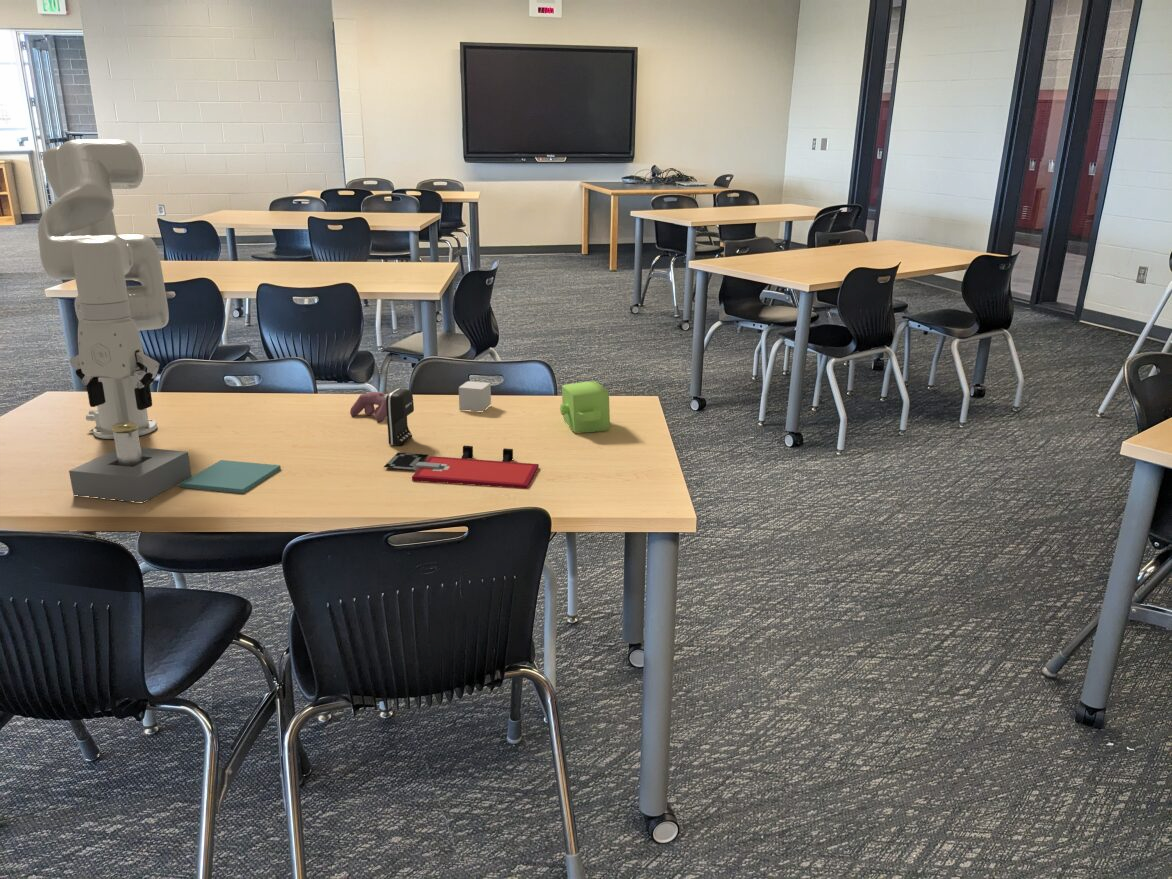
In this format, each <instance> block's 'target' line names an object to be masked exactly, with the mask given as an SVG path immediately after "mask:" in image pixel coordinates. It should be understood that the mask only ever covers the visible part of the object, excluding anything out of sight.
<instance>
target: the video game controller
mask: <svg viewBox="0 0 1172 879" xmlns="http://www.w3.org/2000/svg"><path fill="white" fill-rule="evenodd" d="M386 397H387V395H386V394H384V393H382V392H379V391H367V392H366V391H363V392H362V394H360V395H359V396H358V398H357V399H356V401H355V402H354V403H353V405H352V406H351V408H350V411H349V412H350V413H349V414H350V416H351V417H357V416H358V415H359V414H361V412H362V411H363V410H364V414H365V415H368V416H372V415H373V414H374V416H375V421H376V423H381V422H383V421H384V420H385V419H387V412H386ZM375 406H377V407H375Z"/></svg>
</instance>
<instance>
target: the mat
mask: <svg viewBox="0 0 1172 879" xmlns="http://www.w3.org/2000/svg"><path fill="white" fill-rule="evenodd" d="M281 468H282V467H281V465H279V464H271V463H270V464H268V463H259V462H247V461H236V460H225V459H220V460H218V461H217V462H215V463H213V464H211V465H210V466H207V467H206V468H203V469H202V470H200V471H198V472H196V473H195V474H193V475H191V477H189V478H187V479H185V480H184V481H182V482H180V483H179V487H180V488H184V489H185V488H186V489H196V490H207V491H215V492H217V491H218V492H226V493H234V494H235V493H237V494H245V493H246V492H248V491H250V490H251V489H252V488H254V487H255V486H257V485H259V484H260V483H261V482H264V480H266V479H268V478H270V477H271V476H273V475H274V474H276V473H277V472H279V471H280V470H281Z"/></svg>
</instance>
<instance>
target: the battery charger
mask: <svg viewBox="0 0 1172 879" xmlns="http://www.w3.org/2000/svg"><path fill="white" fill-rule="evenodd" d="M386 396H387V397H386V412H387V417H386V423H387V435H388V445H390V446H402V445H405V444H407V442H409V441H410V440H412V439H413V434H412V433H411V431H410V428H409V425H408V416H409V415H411V414H412V413H413V412H414V411H415V406H414V397H413V392H412V391H411V390H410V389H406V388H405V389H404V388H395V389H393V390H392V391H390V392H389V393H387V395H386Z"/></svg>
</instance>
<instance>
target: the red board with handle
mask: <svg viewBox="0 0 1172 879" xmlns="http://www.w3.org/2000/svg"><path fill="white" fill-rule="evenodd" d="M472 457H473V458H472ZM426 458H427V459H426ZM468 458H472V459H468ZM425 459H426V460H425ZM512 459H513V460H514V449H513V448H505V447H503V450H502V460H487V459H476V458H475V459H474V447H473V445H462V457H446V456H437V455H436V456H435V455H430V456H429V454H423V453H414V452H413V453H411V452H410V453H409V452H396V454H394V455H393V456H392V458H390V460H389V461H387V462H386V464H384V466H383V468H392V469H405V470H415V471H414V474H413V475H412V476H411V482H421V481H429V482H428V483H437V482H446V483H445V484H452V483H463V484H462V485H467V484H475V485H474V486H482V485H490V486H489V487H497V486H502V488H516V489H528V488H529V486H530V484H531V483H532V481H531V480H533V479H534V477H535V475H536V474H537V472H538V470H539V468H538V467H540V466H539V465H540V464H539V463H529V462H528V463H527V462H515V461H513V460H512ZM424 460H425V461H424ZM509 460H512V461H509ZM537 469H538V470H537ZM536 471H537V472H536ZM535 473H536V474H535ZM413 480H414V481H413ZM447 482H448V483H447ZM530 482H531V483H530Z"/></svg>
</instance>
